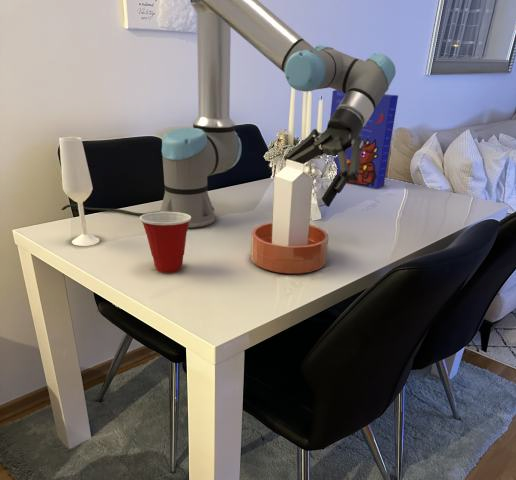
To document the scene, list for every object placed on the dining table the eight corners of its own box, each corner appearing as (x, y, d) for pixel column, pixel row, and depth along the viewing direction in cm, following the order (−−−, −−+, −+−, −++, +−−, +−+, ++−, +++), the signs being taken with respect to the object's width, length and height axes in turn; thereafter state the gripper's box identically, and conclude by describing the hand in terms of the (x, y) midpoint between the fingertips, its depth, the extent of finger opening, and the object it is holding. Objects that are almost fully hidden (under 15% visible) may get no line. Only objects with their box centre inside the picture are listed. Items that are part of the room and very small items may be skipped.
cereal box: (383, 185, 184) (398, 94, 168) (376, 188, 180) (390, 95, 164) (332, 175, 195) (341, 89, 179) (324, 178, 191) (332, 90, 175)
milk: (286, 265, 116) (293, 166, 104) (270, 257, 120) (274, 160, 108) (306, 260, 119) (314, 162, 107) (290, 251, 123) (296, 157, 111)
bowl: (258, 276, 110) (259, 248, 107) (246, 248, 125) (246, 222, 122) (335, 273, 113) (338, 246, 110) (314, 245, 128) (316, 220, 125)
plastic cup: (194, 259, 118) (193, 208, 112) (191, 278, 109) (189, 223, 102) (148, 258, 117) (143, 207, 111) (140, 277, 108) (135, 222, 102)
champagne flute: (97, 235, 129) (83, 135, 117) (102, 243, 124) (88, 140, 112) (70, 238, 127) (52, 136, 114) (73, 247, 122) (56, 141, 109)
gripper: (401, 138, 110) (352, 218, 109) (314, 123, 125) (269, 194, 124) (392, 113, 104) (339, 198, 103) (301, 101, 119) (254, 175, 118)
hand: (301, 196), depth 113 cm, fingers open, 13 cm apart
